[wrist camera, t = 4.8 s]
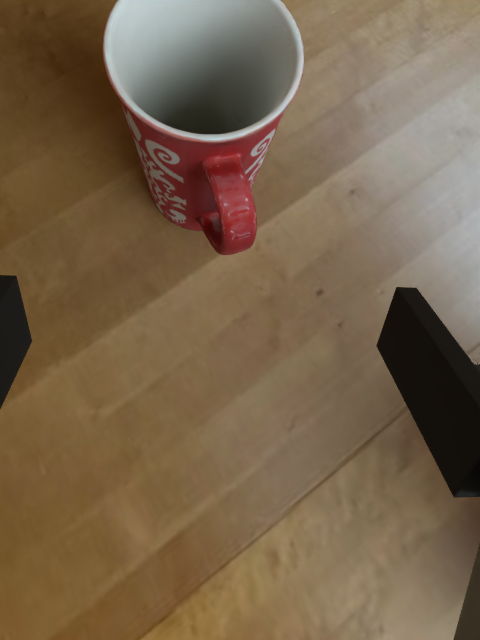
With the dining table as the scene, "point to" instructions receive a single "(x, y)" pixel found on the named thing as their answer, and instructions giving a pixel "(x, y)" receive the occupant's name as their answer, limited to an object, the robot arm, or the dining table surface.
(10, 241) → the dining table surface
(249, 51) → the mug
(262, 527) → the dining table surface
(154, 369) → the dining table surface
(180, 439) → the dining table surface
